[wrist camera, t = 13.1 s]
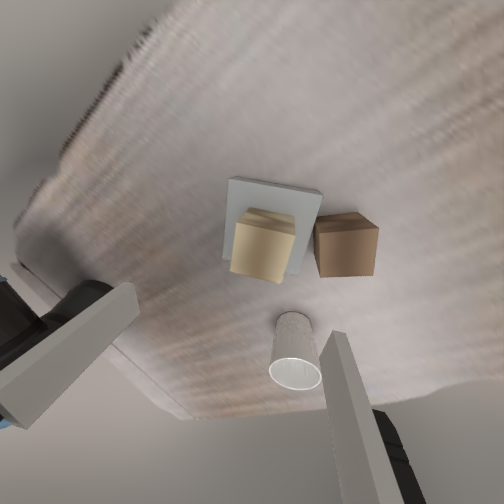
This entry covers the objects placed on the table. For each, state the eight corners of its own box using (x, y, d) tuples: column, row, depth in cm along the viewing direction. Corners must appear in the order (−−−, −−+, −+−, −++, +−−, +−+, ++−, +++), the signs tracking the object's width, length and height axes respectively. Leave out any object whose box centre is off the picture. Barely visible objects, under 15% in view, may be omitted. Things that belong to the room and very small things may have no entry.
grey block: (229, 248, 32) (222, 258, 29) (236, 176, 27) (228, 178, 23) (296, 263, 31) (297, 276, 28) (318, 190, 26) (323, 195, 22)
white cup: (285, 302, 35) (284, 350, 26) (322, 320, 35) (332, 373, 26) (267, 327, 39) (260, 376, 30) (300, 343, 39) (303, 396, 30)
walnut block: (314, 253, 29) (320, 277, 23) (312, 217, 27) (319, 233, 21) (354, 250, 28) (373, 275, 22) (357, 212, 26) (379, 228, 19)
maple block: (243, 246, 27) (229, 271, 21) (249, 207, 24) (236, 222, 18) (282, 255, 27) (281, 284, 20) (293, 216, 24) (295, 235, 18)
